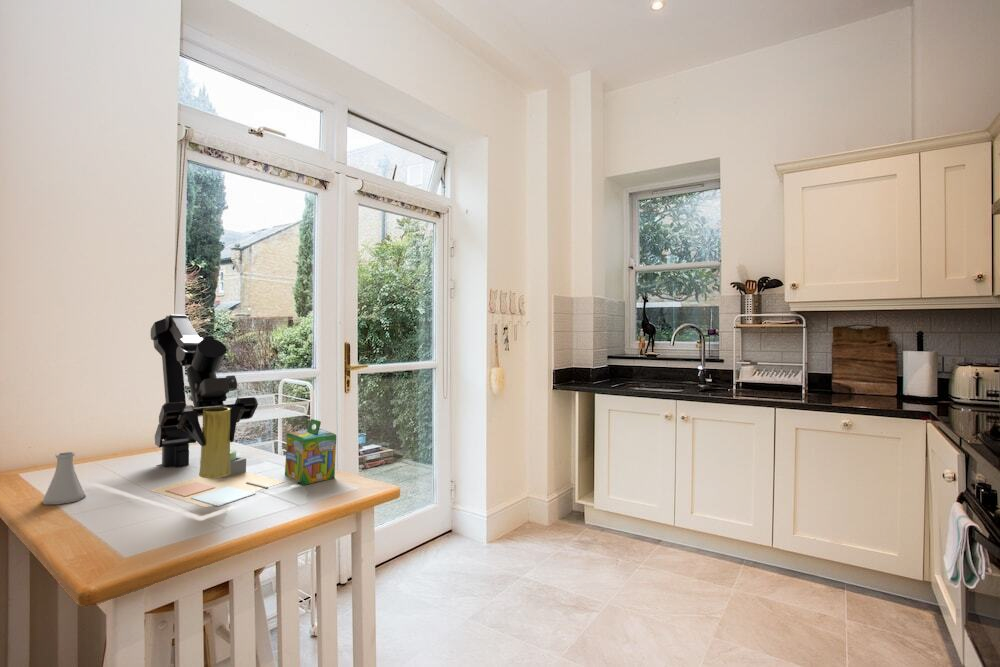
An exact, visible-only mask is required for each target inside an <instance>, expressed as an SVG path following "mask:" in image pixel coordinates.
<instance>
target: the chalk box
mask: <svg viewBox="0 0 1000 667" xmlns="http://www.w3.org/2000/svg"><path fill="white" fill-rule="evenodd" d="M321 423H322V421H320V420H319V419H313V418H310V421H309V424H308V427H307V429H304V430H299V431H298V430H297V431H291V432H287V433H286V445H285V446H286V449H285V451H286V452H285V466H284V476H286V477H289V478H291V479H292V480H295V481H298V482H297V484H298V485H301V486H306V485H309V484H314V483H318V482H319V483H320V482H323V481H327V480H332V479H335V476H336V475H335V473H336V472H335V471H336V454H337V451H336V450H337V434H336V433H334V432H331V431H328V430H324V429H322V428H320V427H321ZM313 425H315V428H313Z"/></svg>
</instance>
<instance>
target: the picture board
mask: <svg viewBox="0 0 1000 667" xmlns="http://www.w3.org/2000/svg"><path fill="white" fill-rule="evenodd" d="M285 482H286V481H284V480H281V479H276V478H272V477H268V476H263V475H259V474H256V473H251V472H247V471H246V472H245V473H241V474H238V475H234V476H231V477H227V478H221V477H219V478H202V477H200V476H197V477H193V478H190V479H186V480H182V481H179V482H175V483H171V484H167V485H163V486H159V487H157V488H153V489H149V491H150V492H152V493H157V494H160V495H163V496H166V497H170V498H173V499H176V500H179V501H183V502H186V503H189V504H192V505H196V506H200V507H202V508H206V509H207V508H211V507H214V506H215V507H218V508H219V507H221V506H224V505H227V504H230V503H232V502H236V501H238V500H243V499H245V498H247V497H250V496H253V495H256V492H258V491H262V490H264V489H265V490H267V489H269V488H271V487H274V486H277V485H279V484H282V483H285Z"/></svg>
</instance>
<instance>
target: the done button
mask: <svg viewBox="0 0 1000 667" xmlns="http://www.w3.org/2000/svg"><path fill="white" fill-rule="evenodd" d="M236 456H237V451H236V450H232V449H230V462H231V461H235V460H236Z"/></svg>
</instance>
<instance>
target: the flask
mask: <svg viewBox="0 0 1000 667" xmlns="http://www.w3.org/2000/svg"><path fill="white" fill-rule="evenodd" d="M75 454H76V453H75V452H74V451H66V452H58V453H56V454H55V458H56V468H55V472H54V474H53V476H52V479H51V482H50V484H49V486H48V488H47V491H46V493H45V494H44V496H43V499H42V503H43V505H62V504H69V503H75V502H78V501H80V500H82V499H84V498H86V493H85V491H84V490H83V487H82V485H81V483H80V480H79V478H78V475H77V473H76V471H75V467H74V456H75Z"/></svg>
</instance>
